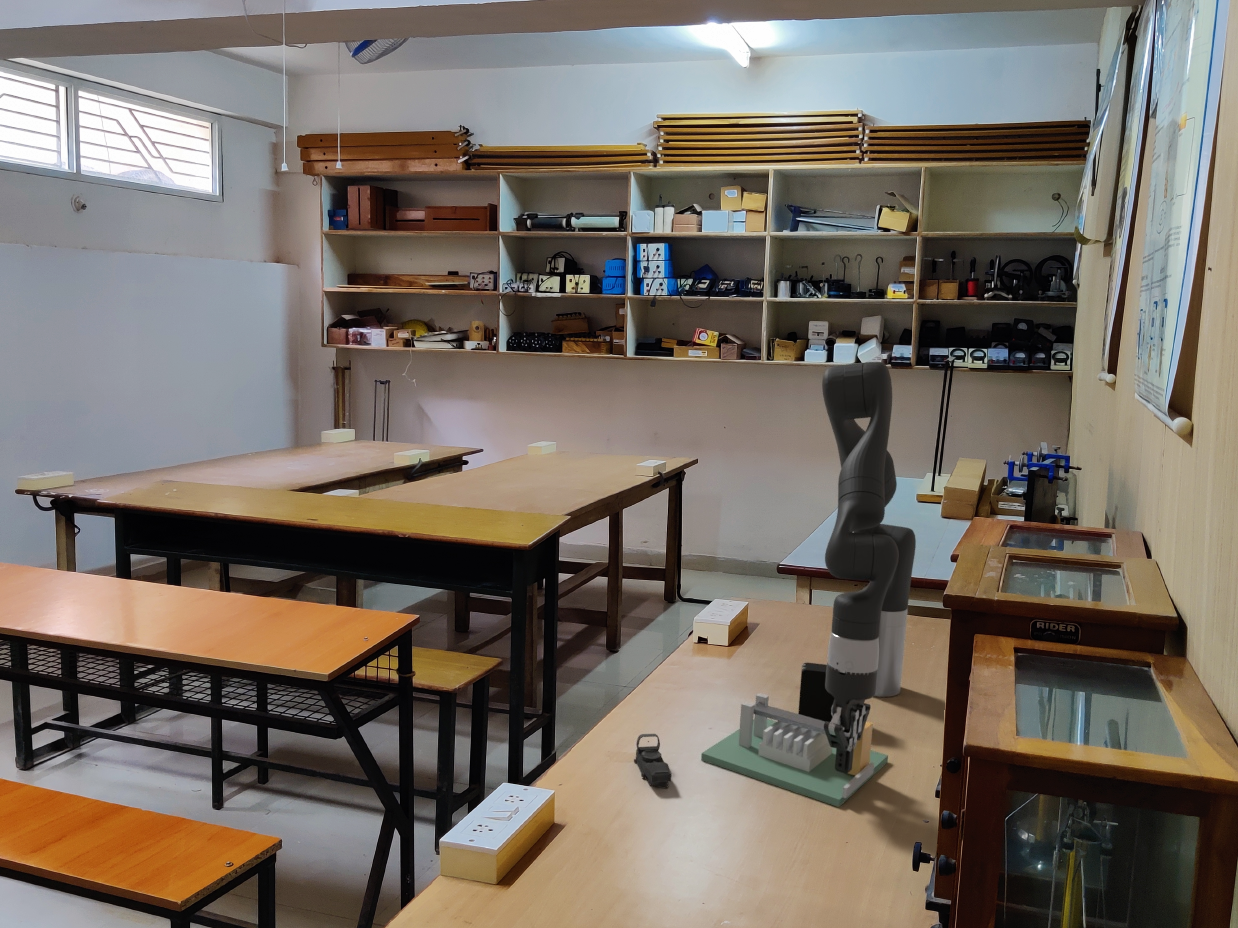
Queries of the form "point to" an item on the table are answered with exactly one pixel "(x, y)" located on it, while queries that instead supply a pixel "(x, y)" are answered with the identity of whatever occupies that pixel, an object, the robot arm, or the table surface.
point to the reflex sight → (652, 764)
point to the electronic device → (815, 693)
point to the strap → (789, 717)
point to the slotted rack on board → (788, 757)
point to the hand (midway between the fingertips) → (843, 770)
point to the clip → (862, 750)
